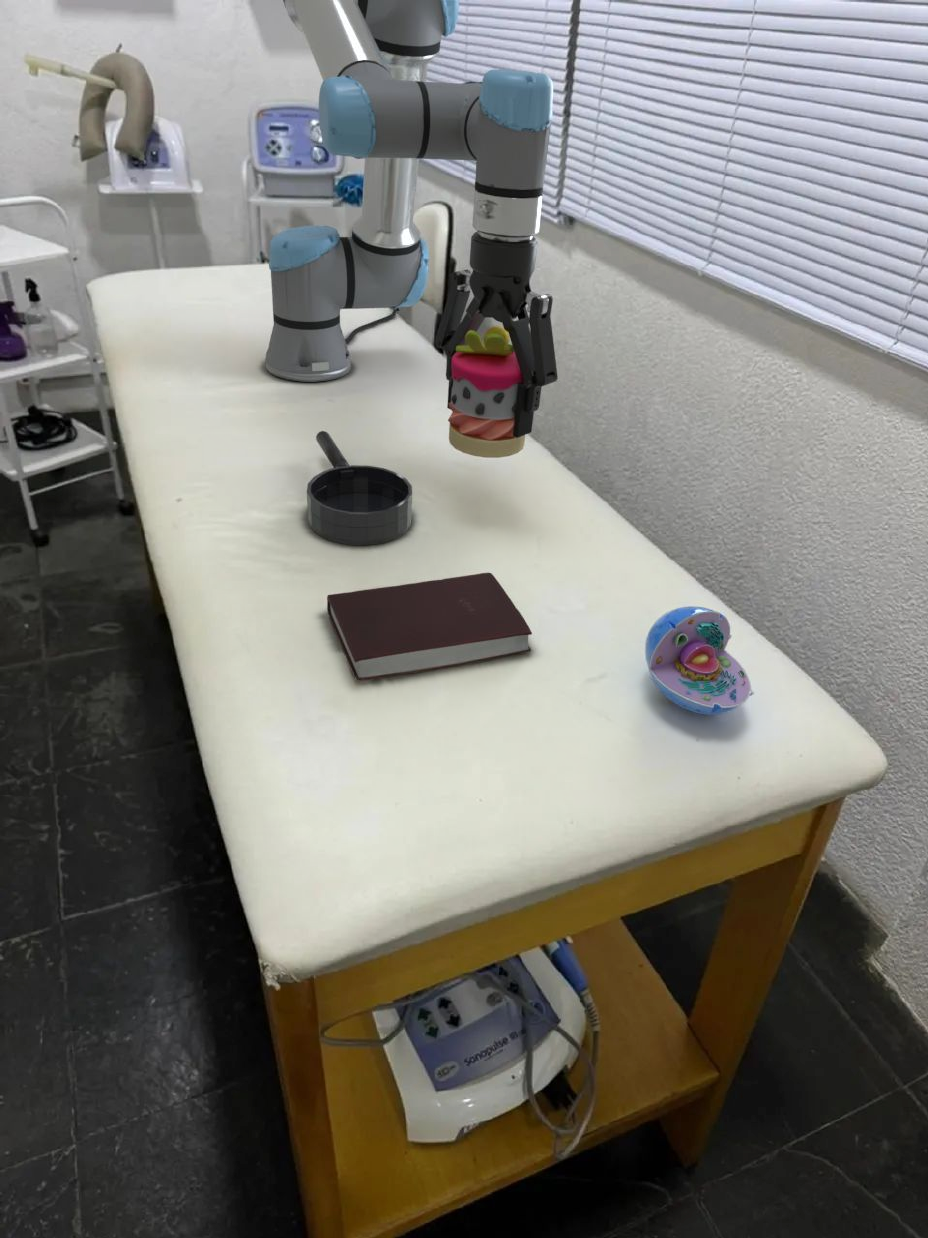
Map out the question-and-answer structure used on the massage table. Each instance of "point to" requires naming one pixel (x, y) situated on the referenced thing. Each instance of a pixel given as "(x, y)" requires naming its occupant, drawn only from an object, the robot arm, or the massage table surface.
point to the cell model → (696, 661)
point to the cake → (485, 396)
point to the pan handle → (333, 454)
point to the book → (427, 625)
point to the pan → (359, 505)
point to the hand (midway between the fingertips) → (488, 419)
